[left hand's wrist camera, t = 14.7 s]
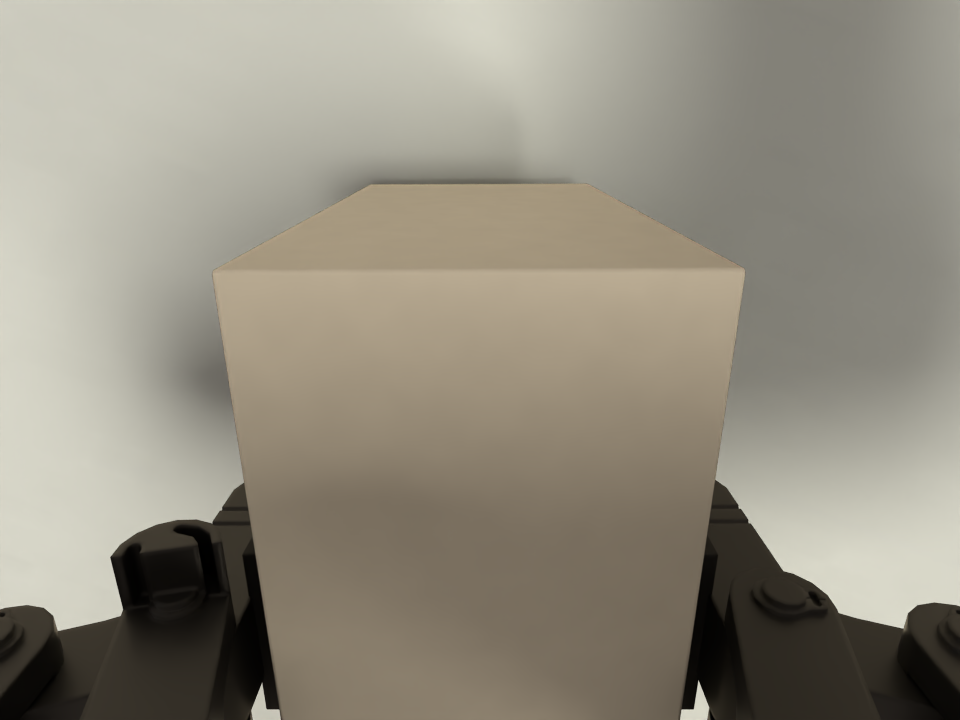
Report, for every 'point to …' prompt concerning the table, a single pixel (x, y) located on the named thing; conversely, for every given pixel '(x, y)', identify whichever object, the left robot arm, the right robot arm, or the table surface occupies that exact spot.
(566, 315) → the post
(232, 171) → the table surface
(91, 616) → the table surface
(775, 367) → the table surface
